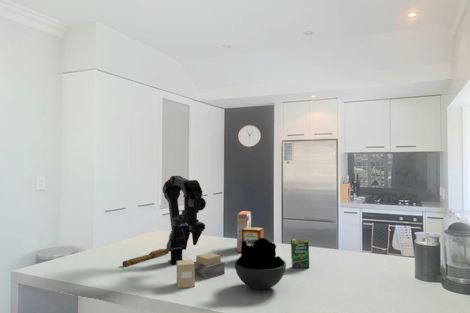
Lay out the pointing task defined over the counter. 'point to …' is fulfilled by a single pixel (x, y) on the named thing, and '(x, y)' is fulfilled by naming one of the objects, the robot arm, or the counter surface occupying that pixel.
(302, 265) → the coffee box
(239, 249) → the cracker box
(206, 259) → the box lid
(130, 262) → the tap handle
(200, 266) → the block
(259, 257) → the coal bowl
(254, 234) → the baking soda box
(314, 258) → the counter surface
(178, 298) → the counter surface
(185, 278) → the box
